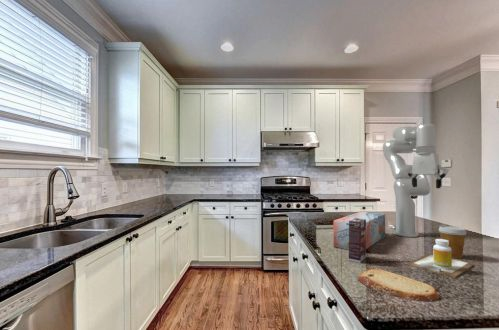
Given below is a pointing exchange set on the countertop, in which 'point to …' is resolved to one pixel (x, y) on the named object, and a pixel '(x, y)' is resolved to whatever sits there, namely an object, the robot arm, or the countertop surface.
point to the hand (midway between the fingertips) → (426, 187)
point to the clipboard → (455, 271)
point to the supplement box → (357, 240)
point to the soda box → (373, 229)
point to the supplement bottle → (442, 254)
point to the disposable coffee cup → (454, 239)
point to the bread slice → (397, 285)
